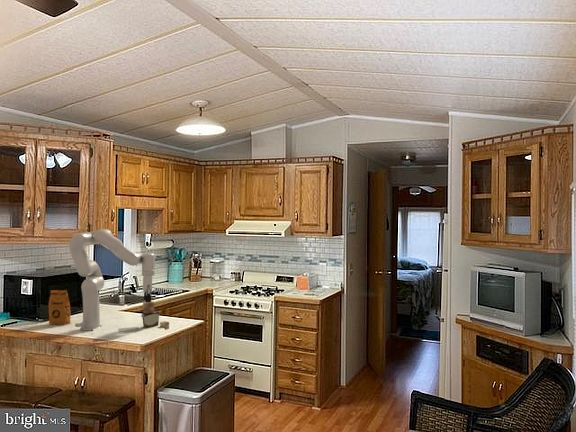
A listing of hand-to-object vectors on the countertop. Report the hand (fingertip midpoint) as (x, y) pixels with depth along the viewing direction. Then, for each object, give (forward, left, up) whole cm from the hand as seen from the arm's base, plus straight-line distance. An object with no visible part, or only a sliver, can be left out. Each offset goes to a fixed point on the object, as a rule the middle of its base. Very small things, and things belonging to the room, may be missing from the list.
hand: (147, 300), depth 294 cm
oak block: (+10, -5, -17) cm, 20 cm away
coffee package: (-51, +36, -17) cm, 65 cm away
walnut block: (+1, 0, -7) cm, 7 cm away
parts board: (-11, -4, -17) cm, 21 cm away
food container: (+1, 0, -17) cm, 17 cm away
